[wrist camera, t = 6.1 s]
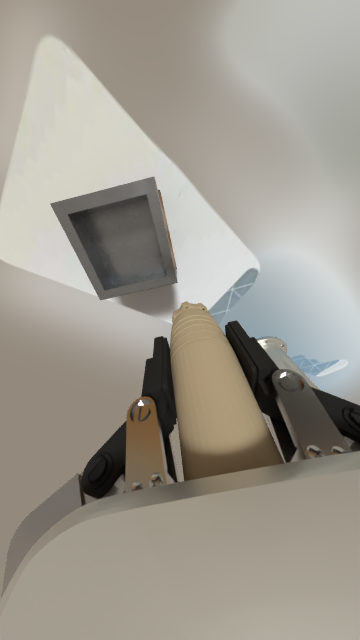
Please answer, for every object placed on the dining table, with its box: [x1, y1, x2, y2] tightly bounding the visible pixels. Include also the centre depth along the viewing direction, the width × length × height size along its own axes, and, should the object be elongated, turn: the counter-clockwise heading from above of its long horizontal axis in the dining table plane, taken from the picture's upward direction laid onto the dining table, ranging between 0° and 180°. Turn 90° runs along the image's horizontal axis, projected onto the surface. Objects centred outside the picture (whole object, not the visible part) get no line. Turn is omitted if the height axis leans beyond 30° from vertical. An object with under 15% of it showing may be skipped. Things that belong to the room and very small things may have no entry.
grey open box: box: [51, 177, 178, 300], centre depth 21 cm, size 11×11×4 cm
